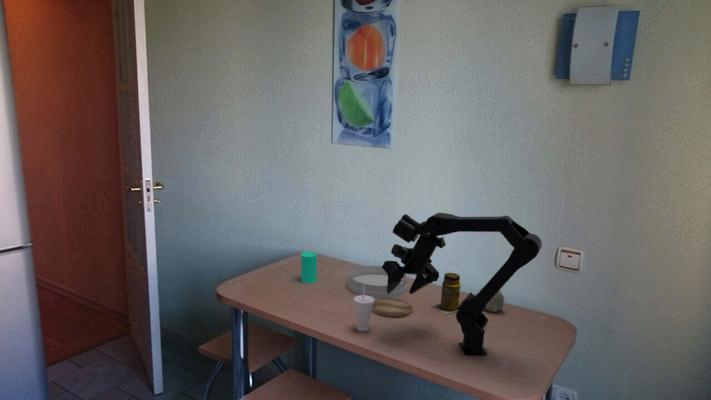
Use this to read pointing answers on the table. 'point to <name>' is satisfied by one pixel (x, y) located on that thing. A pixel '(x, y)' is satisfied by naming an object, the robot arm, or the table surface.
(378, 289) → the dish
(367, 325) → the smoothie
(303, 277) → the candle
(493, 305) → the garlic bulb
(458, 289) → the condiment
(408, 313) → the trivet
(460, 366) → the table surface
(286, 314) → the table surface
